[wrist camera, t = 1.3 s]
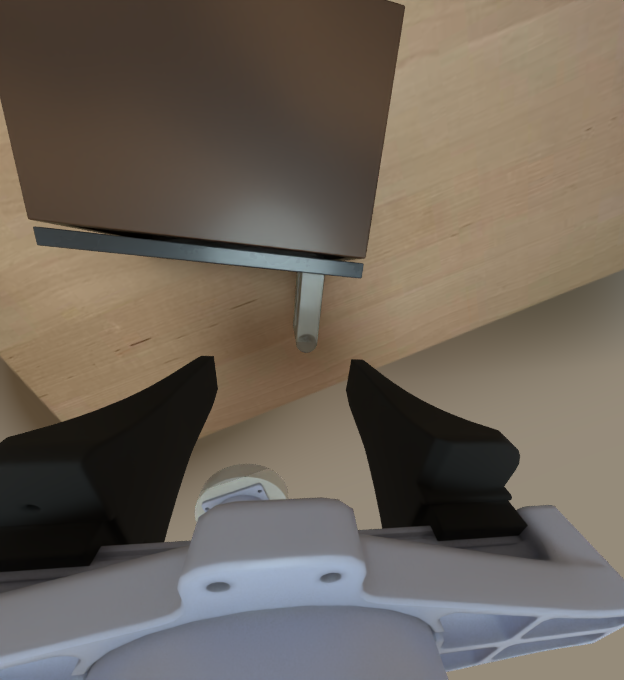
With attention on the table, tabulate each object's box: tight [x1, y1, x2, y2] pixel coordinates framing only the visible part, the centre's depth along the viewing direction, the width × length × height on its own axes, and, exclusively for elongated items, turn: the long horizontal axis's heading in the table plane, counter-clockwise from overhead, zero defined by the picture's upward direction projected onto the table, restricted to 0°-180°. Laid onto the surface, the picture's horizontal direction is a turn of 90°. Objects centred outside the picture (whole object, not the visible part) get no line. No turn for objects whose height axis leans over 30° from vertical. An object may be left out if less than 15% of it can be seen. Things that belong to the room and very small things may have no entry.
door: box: [33, 227, 364, 353], centre depth 17 cm, size 6×16×9 cm, turn 84°
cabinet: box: [0, 0, 405, 261], centre depth 14 cm, size 10×16×10 cm, turn 84°
